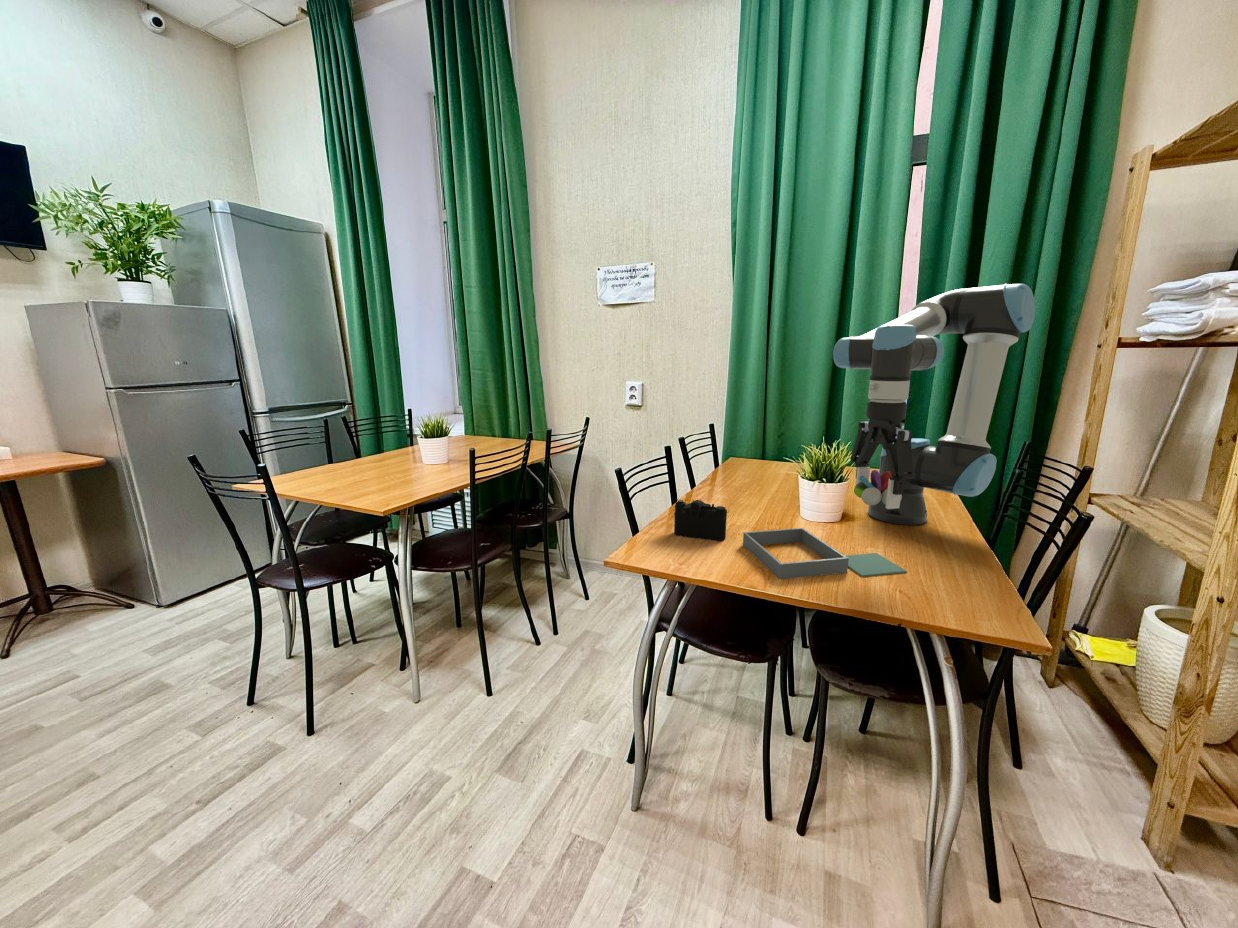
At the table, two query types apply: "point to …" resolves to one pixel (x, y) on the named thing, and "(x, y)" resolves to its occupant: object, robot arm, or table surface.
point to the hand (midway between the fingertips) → (875, 500)
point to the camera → (700, 520)
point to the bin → (829, 565)
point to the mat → (872, 565)
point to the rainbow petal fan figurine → (873, 488)
